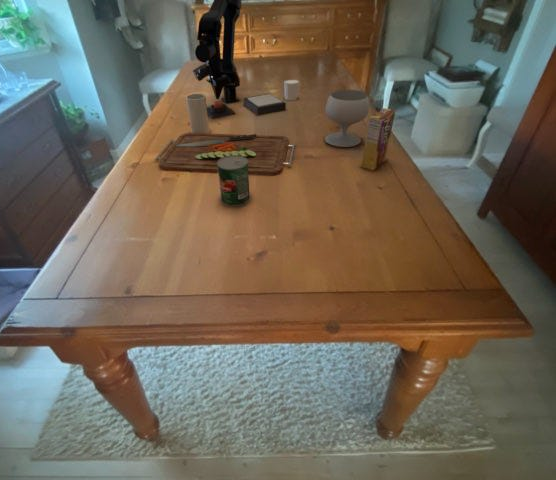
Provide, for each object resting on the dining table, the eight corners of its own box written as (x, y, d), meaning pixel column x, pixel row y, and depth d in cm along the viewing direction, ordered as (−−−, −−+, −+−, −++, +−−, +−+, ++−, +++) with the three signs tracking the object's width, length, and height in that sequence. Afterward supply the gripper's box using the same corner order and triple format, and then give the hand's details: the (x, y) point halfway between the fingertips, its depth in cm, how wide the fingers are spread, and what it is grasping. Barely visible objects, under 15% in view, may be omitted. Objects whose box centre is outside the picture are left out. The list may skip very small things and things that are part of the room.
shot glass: (297, 101, 154) (298, 83, 150) (282, 100, 156) (282, 83, 151) (299, 96, 159) (300, 79, 155) (284, 95, 161) (284, 79, 156)
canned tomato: (216, 204, 94) (211, 166, 87) (228, 189, 100) (224, 153, 92) (243, 208, 92) (240, 170, 84) (254, 194, 97) (252, 157, 90)
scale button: (213, 106, 147) (212, 102, 146) (221, 104, 148) (220, 100, 147) (215, 108, 144) (215, 104, 143) (223, 107, 146) (223, 103, 144)
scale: (243, 105, 153) (243, 97, 151) (269, 100, 157) (269, 92, 154) (257, 115, 143) (257, 107, 140) (285, 110, 146) (285, 101, 144)
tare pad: (203, 110, 150) (202, 103, 149) (224, 106, 153) (224, 100, 151) (212, 118, 142) (211, 112, 140) (235, 114, 145) (234, 108, 143)
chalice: (336, 152, 115) (343, 104, 105) (315, 137, 124) (318, 92, 114) (371, 144, 119) (380, 97, 108) (347, 130, 128) (354, 86, 118)
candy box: (372, 156, 112) (383, 107, 101) (385, 160, 109) (397, 110, 99) (359, 167, 107) (369, 116, 96) (372, 171, 105) (383, 119, 94)
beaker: (189, 131, 133) (183, 95, 124) (206, 128, 135) (201, 92, 126) (194, 137, 128) (189, 100, 119) (212, 134, 130) (207, 97, 121)
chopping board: (148, 169, 111) (146, 160, 109) (176, 136, 130) (174, 127, 128) (288, 176, 104) (289, 166, 102) (296, 140, 123) (296, 131, 121)
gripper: (186, 54, 138) (192, 96, 148) (200, 64, 125) (206, 109, 135) (212, 50, 141) (216, 92, 151) (229, 59, 128) (232, 104, 139)
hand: (217, 99), depth 144 cm, fingers closed
